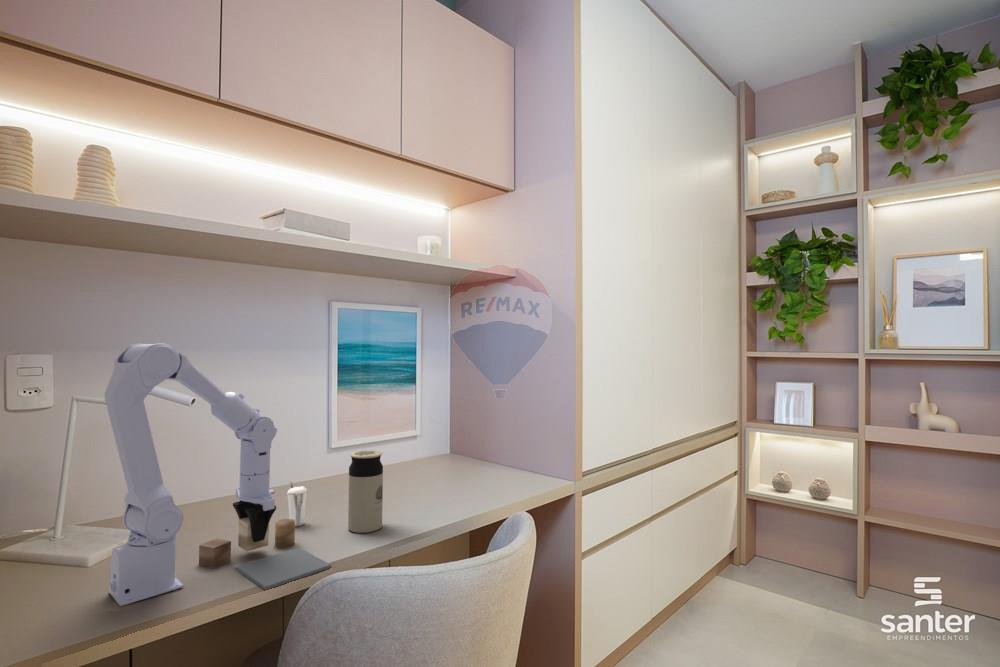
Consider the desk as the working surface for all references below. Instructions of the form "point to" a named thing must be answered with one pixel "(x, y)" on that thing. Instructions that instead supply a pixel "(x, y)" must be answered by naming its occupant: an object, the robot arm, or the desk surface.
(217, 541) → the walnut cube
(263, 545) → the maple block
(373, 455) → the travel mug
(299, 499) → the milkshake
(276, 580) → the mat
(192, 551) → the desk surface
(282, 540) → the oak cylinder
